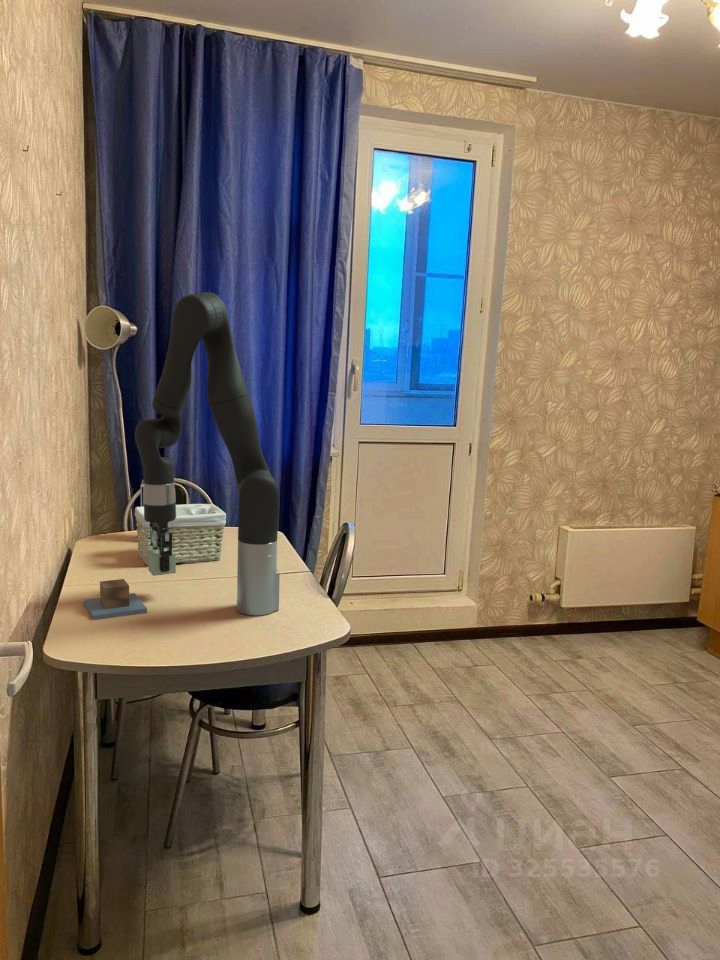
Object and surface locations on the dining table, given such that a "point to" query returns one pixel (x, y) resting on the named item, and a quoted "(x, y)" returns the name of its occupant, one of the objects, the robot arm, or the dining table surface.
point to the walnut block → (114, 593)
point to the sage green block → (155, 563)
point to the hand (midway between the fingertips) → (161, 567)
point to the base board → (100, 612)
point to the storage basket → (188, 533)
